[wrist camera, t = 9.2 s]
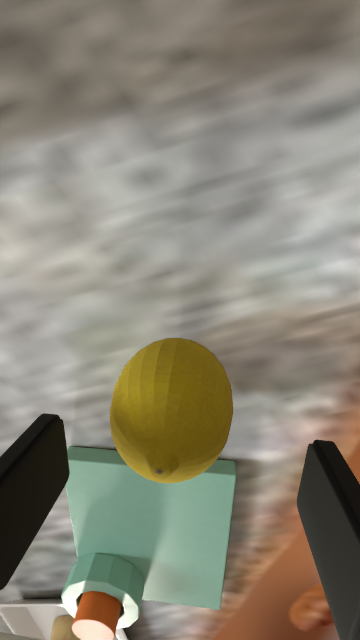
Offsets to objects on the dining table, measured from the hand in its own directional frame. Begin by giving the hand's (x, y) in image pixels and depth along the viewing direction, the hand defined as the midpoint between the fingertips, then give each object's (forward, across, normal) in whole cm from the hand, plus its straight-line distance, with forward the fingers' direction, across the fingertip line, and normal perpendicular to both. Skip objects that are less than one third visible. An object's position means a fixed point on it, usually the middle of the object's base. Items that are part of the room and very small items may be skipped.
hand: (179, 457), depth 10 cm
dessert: (+7, +11, +30) cm, 33 cm away
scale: (+7, +3, +14) cm, 16 cm away
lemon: (+7, +1, -1) cm, 7 cm away
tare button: (+4, +6, +19) cm, 21 cm away
